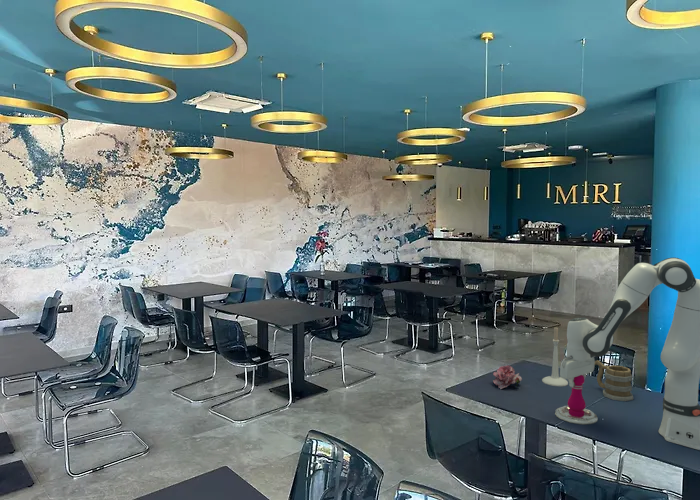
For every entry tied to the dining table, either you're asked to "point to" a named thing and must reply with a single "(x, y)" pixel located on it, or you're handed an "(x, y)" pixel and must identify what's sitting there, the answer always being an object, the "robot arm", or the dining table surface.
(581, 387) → the pepper mill
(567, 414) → the silver metal plate
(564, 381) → the candlestick
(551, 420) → the dining table surface
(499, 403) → the dining table surface
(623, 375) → the tankard
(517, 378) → the flower
